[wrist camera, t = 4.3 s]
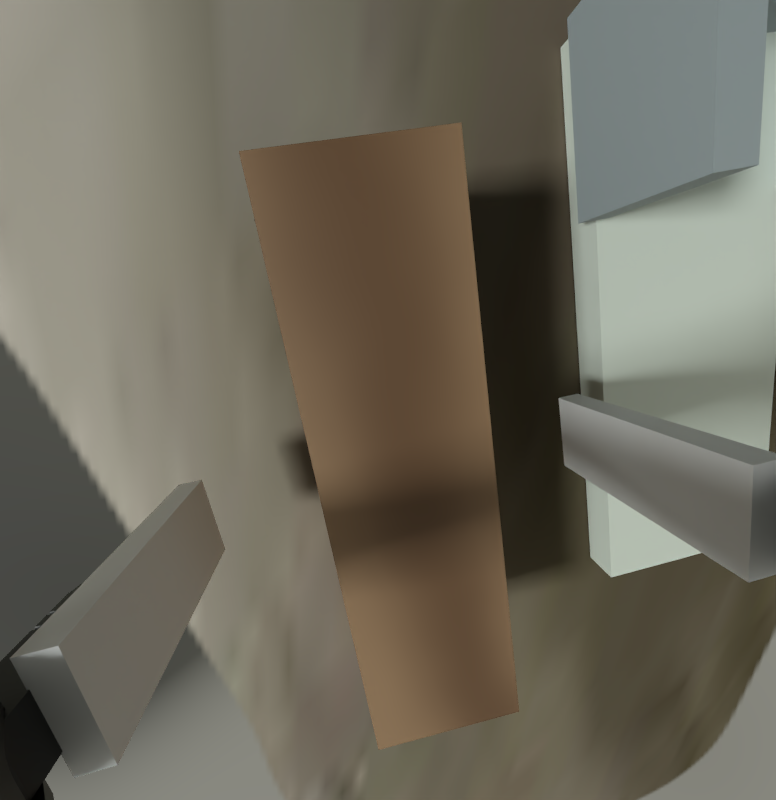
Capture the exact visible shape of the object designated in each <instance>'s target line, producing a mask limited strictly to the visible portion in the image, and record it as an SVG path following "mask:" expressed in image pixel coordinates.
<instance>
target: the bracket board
mask: <svg viewBox="0 0 776 800" xmlns="http://www.w3.org/2000/svg"><path fill="white" fill-rule="evenodd" d="M567 22H568V40H567V41H566V42H565V43H564V44H563V46H562V47H561V64H562V81H563V98H564V115H565V133H566V150H567V167H568V184H569V201H570V218H571V235H572V252H573V269H574V286H575V303H576V320H577V337H578V354H579V371H580V388H581V395H584V396H587V397H590V398H594V399H597V400H600V401H604V402H607V403H610V404H614V405H617V406H620V407H624V408H627V409H630V410H633V411H637V412H640V413H643V414H647V415H650V416H653V417H657V418H660V419H663V420H667V421H670V422H673V423H677V424H680V425H683V426H687V427H690V428H693V429H697V430H700V431H703V432H707V433H710V434H713V435H717V436H720V437H723V438H727V439H730V440H733V441H736V442H740V443H743V444H746V445H750V446H753V447H756V448H760V449H763V450H766V451H769V439H770V426H771V414H772V401H773V388H774V375H775V363H776V0H581V1H580V3H579V4H578V5H577V7H576V8H575V9H574V11H573V12H572V13H571V14H570V16H569V17H568V18H567ZM586 491H587V508H588V525H589V542H590V557H591V558H592V559H593V560H594V561H595V562H596V563H597V564H598V565H599V566H600V567H601V568H602V569H603V570H604V571H605V572H606V573H607V574H608V575H609V576H610V577H615V576H618V575H622V574H626V573H629V572H633V571H637V570H640V569H644V568H648V567H651V566H655V565H659V564H662V563H666V562H670V561H674V560H677V559H681V558H685V557H688V556H692V555H696V554H699V553H701V552H700V551H698V550H697V549H695V548H694V547H692V546H690V545H689V544H687V543H686V542H684V541H683V540H681V539H679V538H678V537H676V536H675V535H673V534H672V533H670V532H668V531H667V530H665V529H664V528H662V527H661V526H659V525H657V524H656V523H654V522H653V521H651V520H649V519H648V518H646V517H645V516H643V515H642V514H640V513H638V512H637V511H635V510H634V509H632V508H631V507H629V506H627V505H626V504H624V503H623V502H621V501H620V500H618V499H616V498H615V497H613V496H612V495H610V494H609V493H607V492H605V491H604V490H602V489H601V488H599V487H598V486H596V485H594V484H593V483H591V482H590V481H588V480H587V479H586Z"/></svg>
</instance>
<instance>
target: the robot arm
mask: <svg viewBox="0 0 776 800" xmlns="http://www.w3.org/2000/svg"><path fill="white" fill-rule="evenodd" d="M559 410H560V421H561V433H562V444H563V456H564V465H565V466H566V467H568V468H569V469H571V470H572V471H574V472H576V473H577V474H579V475H580V476H582V477H583V478H585V479H587V480H588V481H590V482H591V483H593V484H594V485H596V486H598V487H599V488H601V489H602V490H604V491H605V492H607V493H609V494H610V495H612V496H613V497H615V498H616V499H618V500H620V501H621V502H623V503H624V504H626V505H627V506H629V507H631V508H632V509H634V510H635V511H637V512H638V513H640V514H642V515H643V516H645V517H646V518H648V519H649V520H651V521H653V522H654V523H656V524H657V525H659V526H661V527H662V528H664V529H665V530H667V531H668V532H670V533H672V534H673V535H675V536H676V537H678V538H679V539H681V540H683V541H684V542H686V543H687V544H689V545H690V546H692V547H694V548H695V549H697V550H698V551H700V552H701V553H703V554H705V555H706V556H708V557H709V558H711V559H712V560H714V561H716V562H717V563H719V564H720V565H722V566H723V567H725V568H727V569H728V570H730V571H731V572H733V573H734V574H736V575H738V576H739V577H741V578H742V579H744V580H745V581H747V582H752V581H755V580H759V579H762V578H766V577H769V576H773V575H776V453H773V452H770V451H766V450H763V449H760V448H756V447H753V446H750V445H746V444H743V443H740V442H736V441H733V440H730V439H727V438H723V437H720V436H717V435H713V434H710V433H707V432H703V431H700V430H697V429H693V428H690V427H687V426H683V425H680V424H677V423H673V422H670V421H667V420H663V419H660V418H657V417H653V416H650V415H647V414H643V413H640V412H637V411H633V410H630V409H627V408H624V407H620V406H617V405H614V404H610V403H607V402H604V401H600V400H597V399H594V398H590V397H587V396H584V395H580V394H574V395H569V396H565V397H561V398H559ZM224 550H225V547H224V544H223V541H222V538H221V535H220V532H219V530H218V527H217V524H216V521H215V518H214V515H213V512H212V509H211V506H210V503H209V500H208V497H207V494H206V491H205V488H204V485H203V482H202V480H199V481H194V482H190V483H186V484H181V485H178V486H177V487H176V488H175V489H174V490H173V492H172V493H171V494H170V495H169V496H168V497H167V498H166V499H165V500H164V501H163V502H162V503H161V504H160V505H159V506H158V507H157V508H156V509H155V510H154V511H153V512H152V513H151V514H150V515H149V516H148V517H147V518H146V519H145V520H144V521H143V522H142V523H141V524H140V525H139V526H138V527H137V528H136V529H135V530H134V531H133V532H132V534H131V535H130V536H129V537H128V538H127V539H126V540H125V541H124V542H123V543H122V544H121V545H120V546H119V547H118V548H117V549H116V550H115V551H114V552H113V553H112V554H111V555H110V556H109V557H108V558H107V559H106V560H105V561H104V562H103V563H102V564H101V565H100V566H99V567H98V568H97V569H96V570H95V571H94V572H93V573H92V574H91V576H90V577H89V578H88V579H87V580H86V581H85V582H84V583H82V584H81V585H79V586H78V587H77V588H75V589H74V590H73V591H71V592H70V593H68V594H67V595H66V596H65V597H64V598H63V599H62V600H61V601H60V602H59V603H58V604H57V605H56V606H55V607H54V608H53V609H52V610H51V611H50V615H46V616H45V617H44V618H43V619H42V620H41V621H40V622H39V623H38V624H37V625H36V626H35V630H32V631H30V632H29V633H28V634H27V635H26V636H25V637H24V638H23V639H22V640H21V641H20V642H19V643H18V644H17V645H16V646H15V647H14V649H12V650H11V651H10V652H9V654H7V656H6V657H4V658H3V660H1V662H0V800H54V798H53V793H52V791H51V789H50V788H49V786H48V784H47V782H46V781H45V778H46V777H47V775H48V773H49V772H50V770H51V769H52V767H53V765H54V764H55V762H56V761H57V759H58V758H59V756H60V755H62V756H63V758H64V760H65V762H66V764H67V766H68V767H69V769H70V771H71V773H72V775H73V777H74V778H75V777H78V776H82V775H85V774H89V773H92V772H95V771H99V770H103V769H106V768H109V767H113V766H116V765H118V763H119V761H120V759H121V757H122V755H123V753H124V751H125V749H126V747H127V745H128V743H129V741H130V739H131V737H132V735H133V733H134V731H135V729H136V727H137V725H138V723H139V721H140V719H141V717H142V715H143V713H144V711H145V709H146V707H147V705H148V702H149V701H150V699H151V697H152V695H153V693H154V691H155V689H156V687H157V685H158V683H159V681H160V679H161V677H162V675H163V673H164V671H165V668H166V667H167V665H168V663H169V661H170V659H171V657H172V655H173V653H174V650H175V649H176V647H177V645H178V643H179V641H180V639H181V637H182V635H183V632H184V630H185V629H186V627H187V625H188V623H189V621H190V618H191V616H192V614H193V612H194V610H195V608H196V606H197V604H198V602H199V600H200V598H201V596H202V594H203V592H204V590H205V588H206V586H207V584H208V582H209V580H210V578H211V576H212V574H213V572H214V570H215V568H216V566H217V564H218V562H219V560H220V558H221V556H222V554H223V552H224Z"/></svg>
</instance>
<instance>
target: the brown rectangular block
mask: <svg viewBox="0 0 776 800" xmlns="http://www.w3.org/2000/svg"><path fill="white" fill-rule="evenodd" d="M239 154H240V158H241V163H242V167H243V171H244V175H245V180H246V184H247V188H248V193H249V197H250V201H251V205H252V210H253V214H254V218H255V222H256V227H257V231H258V235H259V240H260V244H261V248H262V252H263V257H264V261H265V265H266V270H267V274H268V278H269V282H270V287H271V291H272V295H273V300H274V304H275V308H276V312H277V317H278V321H279V325H280V329H281V334H282V338H283V342H284V347H285V351H286V355H287V359H288V364H289V368H290V372H291V377H292V381H293V385H294V389H295V394H296V398H297V402H298V407H299V411H300V415H301V419H302V424H303V428H304V432H305V436H306V441H307V445H308V449H309V454H310V458H311V462H312V466H313V471H314V475H315V479H316V484H317V488H318V492H319V496H320V501H321V505H322V509H323V514H324V518H325V522H326V526H327V531H328V535H329V539H330V543H331V548H332V552H333V556H334V561H335V565H336V569H337V573H338V578H339V582H340V586H341V591H342V595H343V599H344V603H345V608H346V612H347V616H348V621H349V625H350V629H351V633H352V638H353V642H354V646H355V650H356V655H357V659H358V663H359V668H360V672H361V676H362V680H363V685H364V689H365V693H366V698H367V702H368V706H369V710H370V715H371V719H372V723H373V728H374V732H375V736H376V740H377V745H378V749H379V750H380V749H384V748H388V747H391V746H395V745H399V744H402V743H406V742H410V741H413V740H417V739H420V738H424V737H428V736H431V735H435V734H439V733H442V732H446V731H450V730H453V729H457V728H461V727H464V726H468V725H472V724H475V723H479V722H483V721H486V720H490V719H494V718H497V717H501V716H505V715H508V714H512V713H516V712H519V705H518V695H517V685H516V674H515V664H514V654H513V644H512V634H511V624H510V613H509V603H508V593H507V583H506V573H505V562H504V552H503V542H502V532H501V522H500V511H499V501H498V491H497V481H496V471H495V461H494V450H493V440H492V430H491V420H490V410H489V399H488V389H487V379H486V369H485V359H484V348H483V338H482V328H481V318H480V308H479V298H478V287H477V277H476V267H475V257H474V247H473V236H472V226H471V216H470V206H469V196H468V185H467V175H466V165H465V155H464V145H463V135H462V124H461V123H454V124H447V125H439V126H431V127H423V128H415V129H408V130H400V131H392V132H384V133H377V134H369V135H361V136H353V137H345V138H338V139H330V140H322V141H314V142H306V143H299V144H291V145H283V146H275V147H268V148H260V149H252V150H244V151H239Z"/></svg>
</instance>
